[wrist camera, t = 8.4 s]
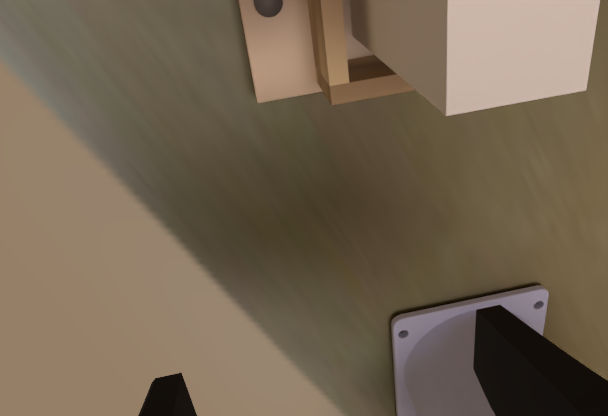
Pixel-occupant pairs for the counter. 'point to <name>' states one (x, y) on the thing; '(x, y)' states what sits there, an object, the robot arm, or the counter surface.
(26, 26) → the counter surface
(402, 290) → the counter surface
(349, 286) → the counter surface
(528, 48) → the post
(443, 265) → the counter surface
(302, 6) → the bracket
